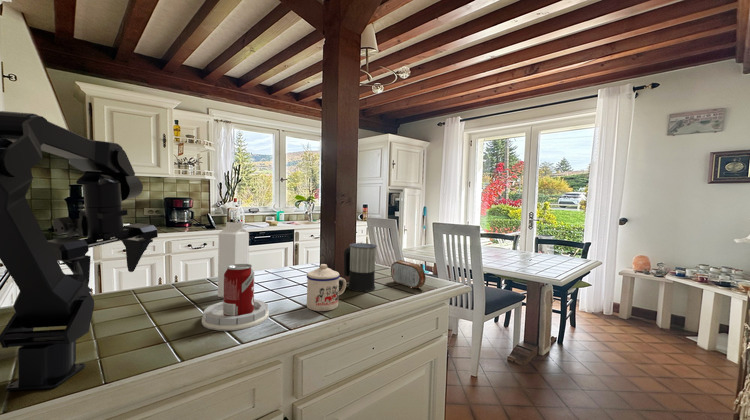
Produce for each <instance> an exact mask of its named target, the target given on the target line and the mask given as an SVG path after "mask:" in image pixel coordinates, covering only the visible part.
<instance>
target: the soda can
mask: <svg viewBox="0 0 750 420" xmlns="http://www.w3.org/2000/svg"><path fill="white" fill-rule="evenodd" d="M252 267H253V265H252V264H250V263H248V264H233V265H229V266H227V271H226V272H225V273H224V298H223V301H224V303H223V315H224V316H240V315H245V314H250V313H252V312H253V311H254V299H255V271H254V269H253V268H252Z"/></svg>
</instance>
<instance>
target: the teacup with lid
mask: <svg viewBox="0 0 750 420" xmlns="http://www.w3.org/2000/svg"><path fill="white" fill-rule="evenodd" d="M306 279H307V280H306V281H307V282H306V283H307V285H306V286H307V287H306V307H307V309H309V310H311V311H316V312H326V311H327V312H328V311H333V310H334V309H337V308H338V307H339V296H340V295H342V294H343V293H344V292H345V290H346V288H347V285H346V284H347V281H346V279H345V278H343V277H340V273H339V272H338V271H336V270H333V269H332V268H329V267H328V265H327V263H326V264H325V263H321V264H320V265H319V267H317V268H315V269H314V270H311V271H309V272H307V274H306ZM339 280H341V281H343V286H342V289H341V290H340V291H339V288H340V287H339V286H340V284H339ZM338 291H339V292H338Z"/></svg>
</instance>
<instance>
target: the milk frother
mask: <svg viewBox="0 0 750 420" xmlns="http://www.w3.org/2000/svg"><path fill="white" fill-rule="evenodd" d="M376 253H377V245H376V244H373V243H363V242H358V243H357V242H356V243H350V244H349V246H348V247H346V248H345V250H344V252H343V264H344V265H343V270H344V271H343V272H344V276H345V277H348V278H349V279H348V283H346V286H347V287H348V289H349V290H350V291H351V290H352V291H353V292H355V291H356V292H370V291H373V290H375V288H376V285H375V284H376V283H375V279H376V278H375V277H376V276H375V274H376V271H375V270H376V255H377V254H376ZM339 286H340V287H339V291H340V290H341V289H342V286H343V281H342V280H339ZM339 291H338V292H339Z"/></svg>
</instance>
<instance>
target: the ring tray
mask: <svg viewBox="0 0 750 420" xmlns="http://www.w3.org/2000/svg"><path fill="white" fill-rule="evenodd" d="M223 303H224V300H223V301H220V302H217V303H214V304H211V305H209V306H207V307H206V308H205V309H204V310H203V315H202V317H201V325H202V326H203V327H204V328H206V329H208V330H212V331H218V332H220V331H221V332H223V331H225V332H227V331H228V332H229V331H239V330H244V329H248V328H252V327H255V326H258V325H260V324H263V323H264V322H266V321H267V320H268V319H269V317H270V311H269V306H268V304H267V303H266V302H265V301H263V300H260V299H255V298H254V311H253V312H252V313H250V314H245V315H240V316H224V315H223Z"/></svg>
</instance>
